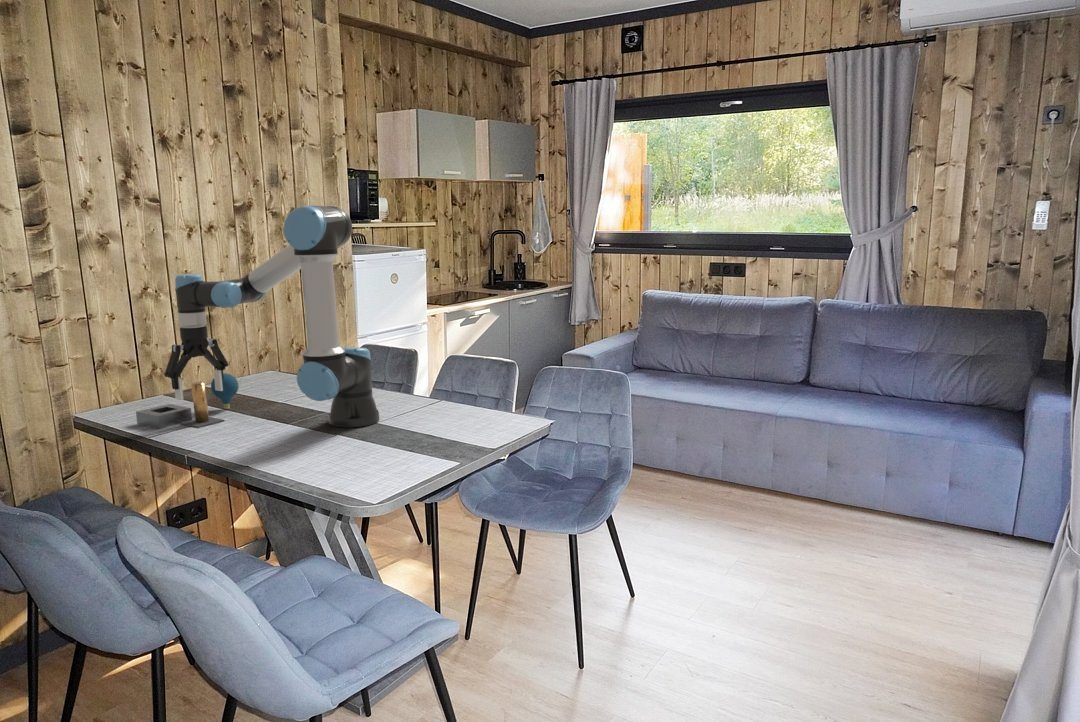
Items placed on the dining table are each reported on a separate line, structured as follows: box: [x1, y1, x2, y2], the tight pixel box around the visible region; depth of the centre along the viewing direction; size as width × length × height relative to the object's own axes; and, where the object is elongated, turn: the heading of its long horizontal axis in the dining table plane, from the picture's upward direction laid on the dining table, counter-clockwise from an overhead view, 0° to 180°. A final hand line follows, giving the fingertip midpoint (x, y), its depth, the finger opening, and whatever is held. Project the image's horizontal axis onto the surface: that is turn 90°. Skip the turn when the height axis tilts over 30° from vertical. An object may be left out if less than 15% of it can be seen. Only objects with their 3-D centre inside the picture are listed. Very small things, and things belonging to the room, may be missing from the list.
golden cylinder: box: [190, 381, 210, 423], centre depth 232 cm, size 4×4×12 cm
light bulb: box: [210, 372, 240, 410], centre depth 248 cm, size 8×8×12 cm
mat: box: [179, 416, 225, 429], centre depth 233 cm, size 9×9×1 cm
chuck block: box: [135, 403, 193, 430], centre depth 233 cm, size 11×11×4 cm
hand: (199, 395), depth 231 cm, fingers open, 13 cm apart
